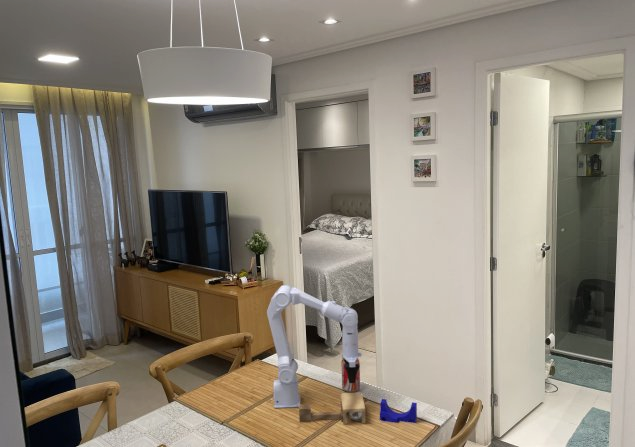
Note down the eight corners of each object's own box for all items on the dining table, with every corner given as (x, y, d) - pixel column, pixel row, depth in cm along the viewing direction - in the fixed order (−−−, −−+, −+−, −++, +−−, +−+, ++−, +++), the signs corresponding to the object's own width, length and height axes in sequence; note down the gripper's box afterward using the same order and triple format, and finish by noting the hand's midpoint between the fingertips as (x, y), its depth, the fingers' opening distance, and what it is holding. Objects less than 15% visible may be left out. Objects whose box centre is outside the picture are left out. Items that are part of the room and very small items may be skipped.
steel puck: (350, 421, 171) (350, 416, 170) (349, 415, 175) (349, 410, 175) (363, 421, 171) (362, 416, 171) (361, 414, 175) (361, 409, 175)
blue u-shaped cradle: (379, 421, 170) (379, 404, 170) (382, 414, 174) (382, 398, 174) (415, 426, 166) (414, 409, 166) (416, 419, 171) (416, 402, 170)
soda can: (360, 385, 198) (359, 354, 196) (360, 393, 191) (359, 361, 189) (342, 385, 199) (341, 353, 197) (341, 393, 192) (340, 361, 190)
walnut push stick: (299, 423, 170) (299, 410, 169) (299, 416, 175) (299, 403, 174) (344, 421, 170) (344, 408, 170) (343, 414, 175) (343, 401, 175)
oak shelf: (343, 424, 168) (343, 409, 168) (341, 407, 180) (340, 393, 180) (365, 423, 168) (365, 408, 168) (361, 406, 180) (361, 392, 180)
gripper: (363, 349, 173) (364, 386, 175) (358, 335, 188) (359, 369, 189) (343, 350, 173) (344, 387, 175) (340, 336, 187) (341, 370, 189)
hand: (351, 378), depth 182 cm, fingers open, 7 cm apart
